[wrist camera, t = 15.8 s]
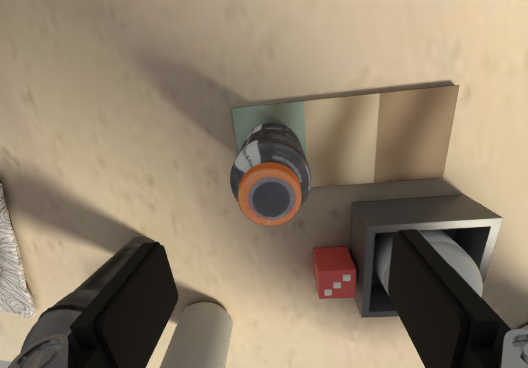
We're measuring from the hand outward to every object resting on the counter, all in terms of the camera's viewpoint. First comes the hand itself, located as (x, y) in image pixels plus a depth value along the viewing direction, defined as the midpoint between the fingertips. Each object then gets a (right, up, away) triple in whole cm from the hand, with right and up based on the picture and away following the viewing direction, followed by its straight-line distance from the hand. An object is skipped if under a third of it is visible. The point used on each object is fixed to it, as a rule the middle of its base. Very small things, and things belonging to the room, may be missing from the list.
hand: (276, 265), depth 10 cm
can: (-9, -16, +26) cm, 32 cm away
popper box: (+14, -4, +20) cm, 25 cm away
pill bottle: (0, +7, +16) cm, 17 cm away
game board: (+7, +8, +15) cm, 19 cm away
